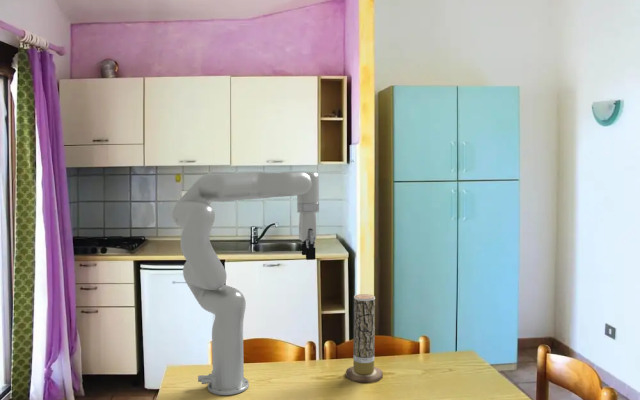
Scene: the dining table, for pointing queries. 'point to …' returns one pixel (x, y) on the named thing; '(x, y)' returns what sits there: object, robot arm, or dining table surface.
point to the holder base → (364, 376)
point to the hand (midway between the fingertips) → (308, 257)
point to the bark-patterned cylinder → (364, 334)
